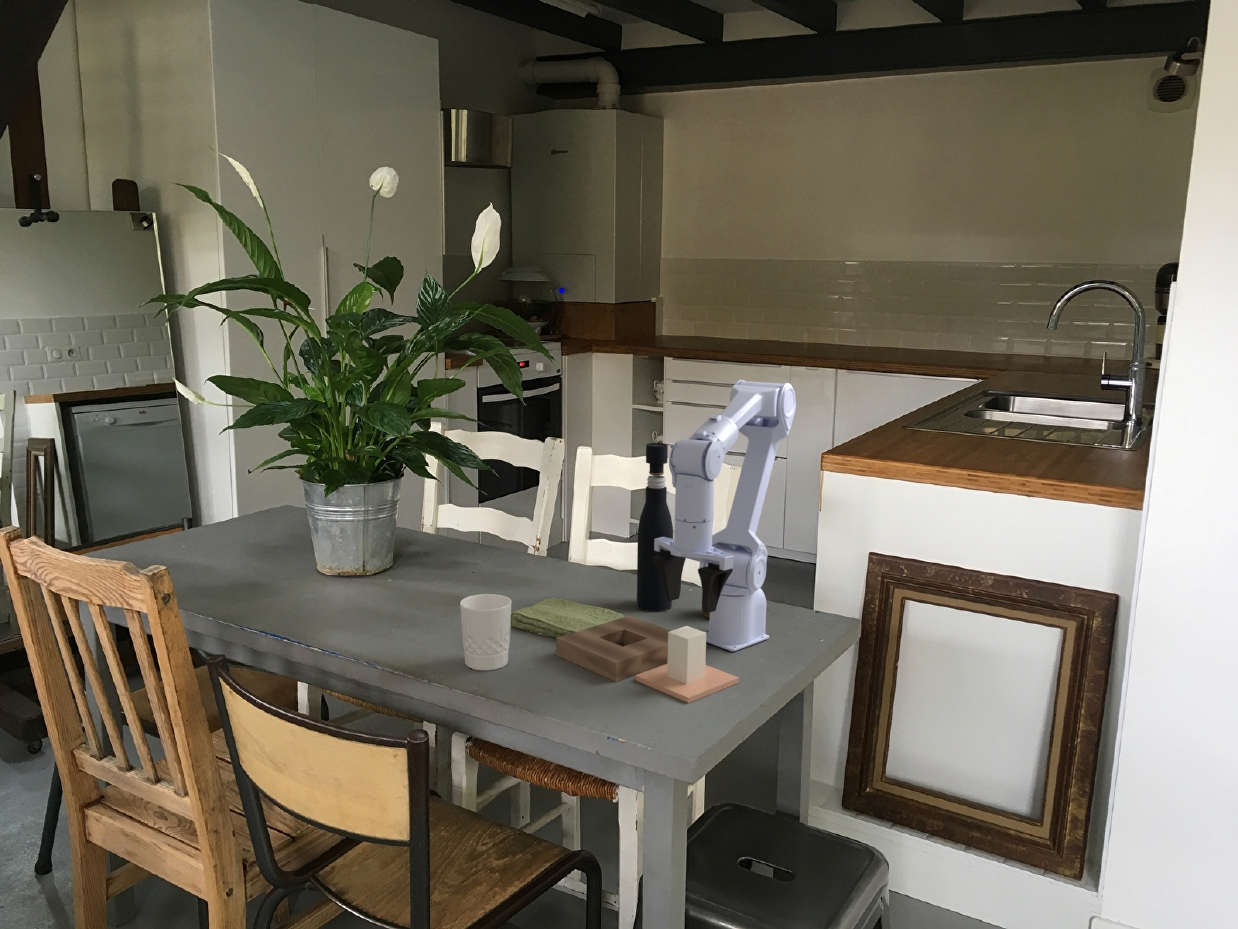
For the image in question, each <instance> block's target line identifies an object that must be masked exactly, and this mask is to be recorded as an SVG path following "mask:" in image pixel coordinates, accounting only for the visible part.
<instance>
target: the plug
mask: <svg viewBox="0 0 1238 929" xmlns="http://www.w3.org/2000/svg"><path fill="white" fill-rule="evenodd" d="M706 633H707V632H705V631H702V630H700V629H696V628H695V627H694V628H693V627H691V626H688V625H685V626H683V627H680V628H677V629H672V630H670V632H668V663H667V664H668V668H667V676H668V677H670V678H673V679H675V680H678V681H680V682H682V683H685V684H689V683H691V682H694V681H697V680H699V679H702V678H704V677H705V665H706V658H707V657H706V656H707V653H706V652H707V642H706Z"/></svg>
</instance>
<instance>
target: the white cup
mask: <svg viewBox="0 0 1238 929" xmlns="http://www.w3.org/2000/svg"><path fill="white" fill-rule="evenodd" d="M459 604H460V605H459V606H460V607H459V608H460V620H461V622H460V623H461V635H462V646H463V649H464V651H463V654H464V665H465V666H467V668H469V667H470V669H471V668H472V670H474V671H475V670H476V671H495V670H499V669H501V668H504V667H505V666H506V665H508V663H509V648H510V646H511V645H510V644H511V642H510V640H511V627H512V626H511V614H512V599H511V598H510V597H508V596H506V595H502V594H493V593H483V594H482V593H480V594H474V595H469V596H466V597H464V598H463V599H461V601H460V602H459Z"/></svg>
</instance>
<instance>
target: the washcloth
mask: <svg viewBox="0 0 1238 929" xmlns="http://www.w3.org/2000/svg"><path fill="white" fill-rule="evenodd" d="M623 617H625V616H624V614H622V613H619V612H616V611H615V610H611V609H609V608H604V607H600V606H595V605H589V604H582V603H579V602H574V601H572V600H570V599H569V600H568V599H562V598H560V597H554V598H552V597H551V598H546V599H543V600H541V601H539V602H537V603H534V604H533V605H531V606H528V607H527V606H526V607H523V608H521V609H518V610H514V611H513V612H511V627H512V626H513V627H512V628H514V627H516V628H515V629H519V630H523V631H525V630H526V631H525V632H528V631H529V632H528V633H532V632H533V633H534V632H535V633H534V634H537V633H541V634H543V635H542V636H546V635H547V637H552V638H558V637H561V636H564V635H568V634H571V633H574V632H577V631H581V630H584V629H587V628H590V627H594V626H597V625H600V624H604V623H607V622H610V621H613V620H617V619H620V618H623ZM541 634H540V635H541Z"/></svg>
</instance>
